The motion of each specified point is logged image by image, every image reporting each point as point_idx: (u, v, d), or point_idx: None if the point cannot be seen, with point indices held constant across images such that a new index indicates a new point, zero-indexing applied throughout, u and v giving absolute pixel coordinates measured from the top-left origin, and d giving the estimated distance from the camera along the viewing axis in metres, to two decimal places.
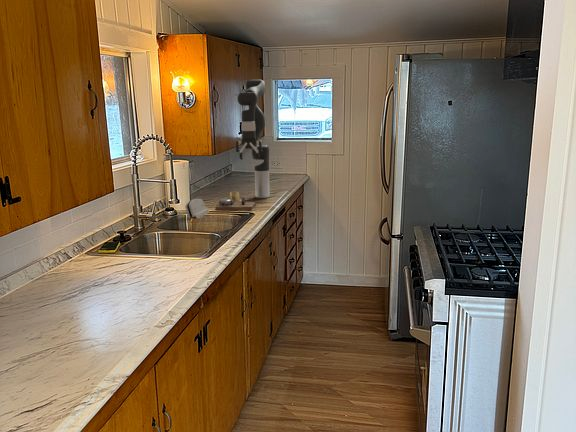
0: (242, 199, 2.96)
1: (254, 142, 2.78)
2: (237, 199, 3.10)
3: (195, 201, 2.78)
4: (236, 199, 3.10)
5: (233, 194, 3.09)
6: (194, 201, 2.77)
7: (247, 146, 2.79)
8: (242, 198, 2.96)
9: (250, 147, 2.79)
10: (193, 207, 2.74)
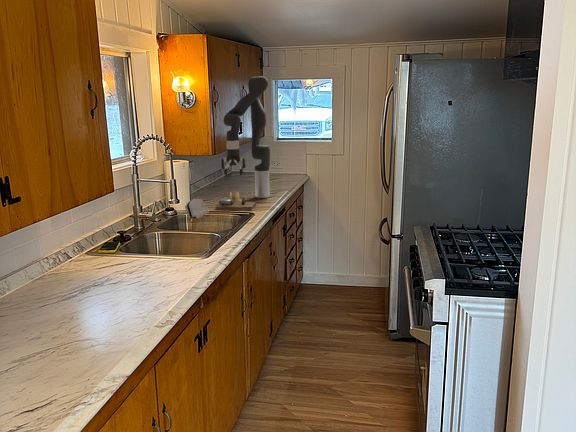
0: (242, 199, 2.96)
1: (238, 159, 3.05)
2: (237, 199, 3.10)
3: (194, 201, 2.77)
4: (236, 199, 3.10)
5: (233, 194, 3.09)
6: (194, 201, 2.77)
7: (231, 163, 3.06)
8: (242, 198, 2.96)
9: (234, 164, 3.06)
10: (193, 207, 2.74)
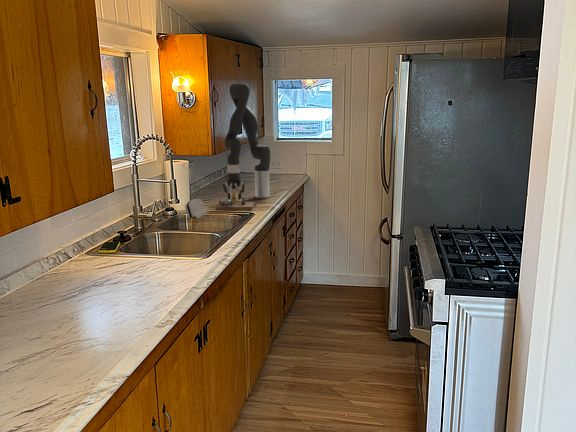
0: (242, 199, 2.96)
1: (238, 183, 3.08)
2: (237, 199, 3.10)
3: (194, 201, 2.77)
4: (236, 199, 3.10)
5: (233, 194, 3.08)
6: (194, 201, 2.77)
7: (233, 186, 3.09)
8: (242, 198, 2.96)
9: (234, 187, 3.09)
10: (193, 207, 2.74)
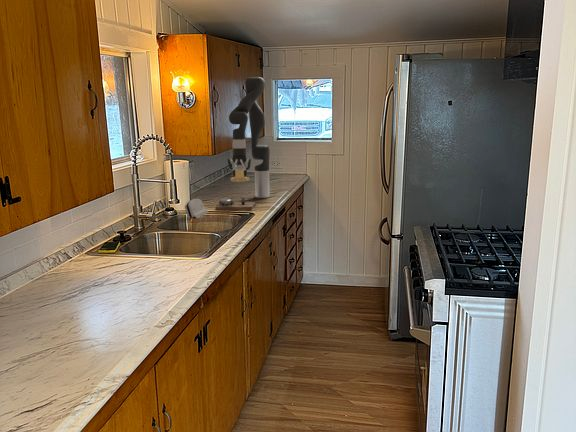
0: (242, 199, 2.96)
1: (244, 159, 2.93)
2: (243, 176, 2.94)
3: (194, 202, 2.77)
4: (241, 176, 2.94)
5: (238, 171, 2.93)
6: (193, 201, 2.77)
7: (238, 162, 2.93)
8: (242, 198, 2.96)
9: (239, 163, 2.94)
10: (192, 207, 2.74)
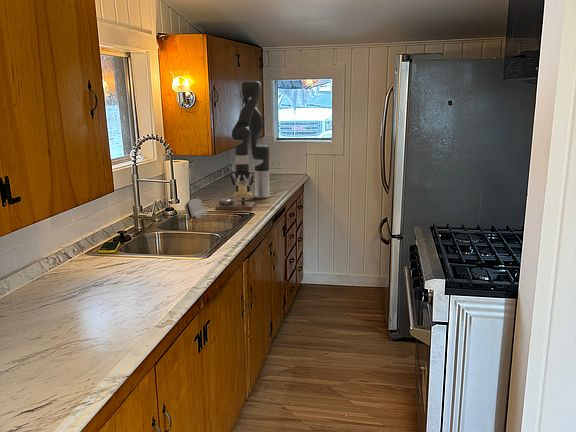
0: (242, 199, 2.96)
1: (247, 174, 2.92)
2: (246, 192, 2.94)
3: (194, 202, 2.77)
4: (245, 192, 2.94)
5: (241, 186, 2.93)
6: (193, 201, 2.76)
7: (241, 178, 2.93)
8: (242, 198, 2.96)
9: (242, 179, 2.93)
10: (192, 207, 2.74)
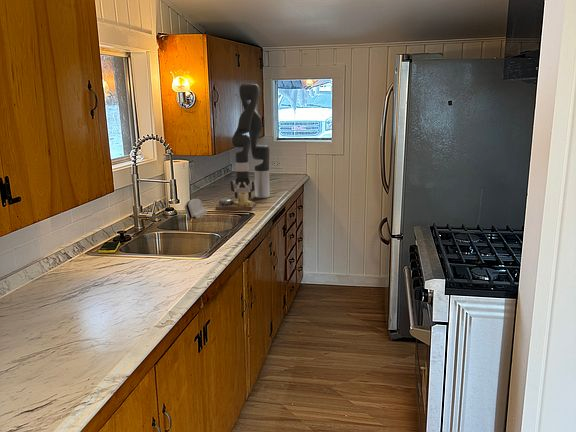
0: None
1: (247, 182, 2.93)
2: (246, 200, 2.95)
3: (193, 202, 2.77)
4: (245, 200, 2.95)
5: (242, 195, 2.94)
6: (193, 201, 2.76)
7: (241, 185, 2.94)
8: None
9: (243, 186, 2.94)
10: (192, 207, 2.73)
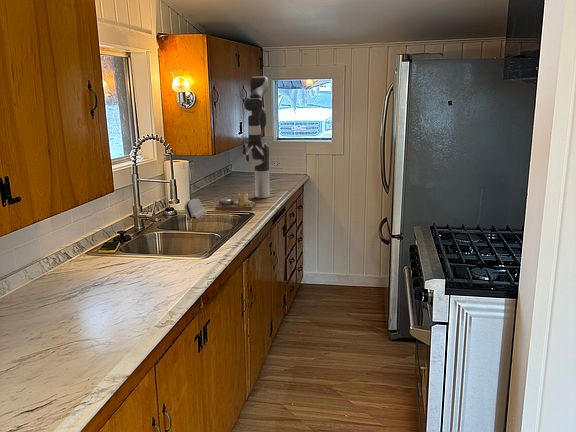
0: None
1: (260, 145, 2.95)
2: (246, 200, 2.95)
3: (193, 202, 2.77)
4: (245, 200, 2.95)
5: (242, 195, 2.94)
6: (193, 201, 2.76)
7: (253, 149, 2.96)
8: None
9: (256, 150, 2.96)
10: (192, 207, 2.73)
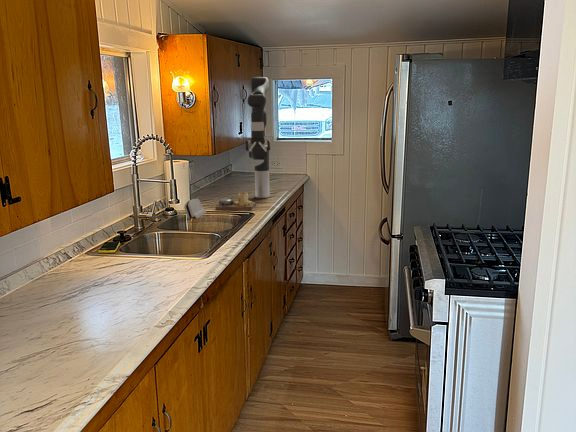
0: None
1: (263, 141, 2.96)
2: (246, 200, 2.95)
3: (193, 202, 2.77)
4: (245, 200, 2.95)
5: (242, 195, 2.94)
6: (192, 201, 2.76)
7: (256, 145, 2.97)
8: None
9: (259, 146, 2.97)
10: (192, 207, 2.73)
